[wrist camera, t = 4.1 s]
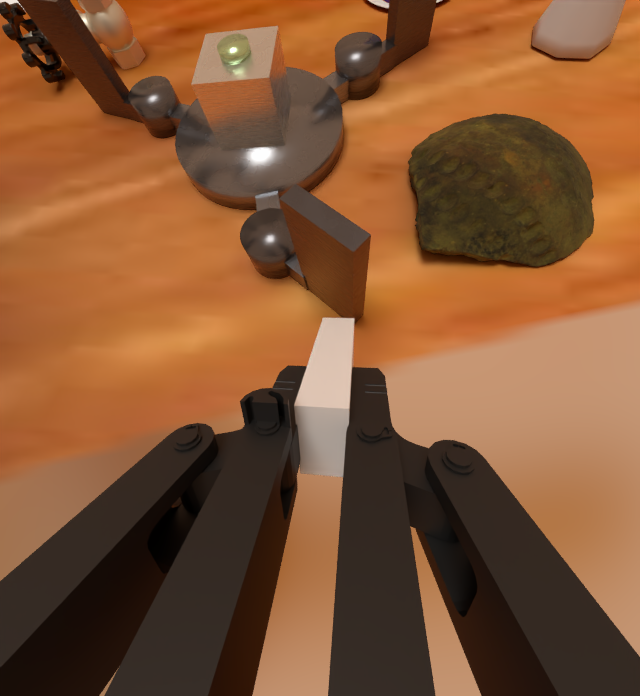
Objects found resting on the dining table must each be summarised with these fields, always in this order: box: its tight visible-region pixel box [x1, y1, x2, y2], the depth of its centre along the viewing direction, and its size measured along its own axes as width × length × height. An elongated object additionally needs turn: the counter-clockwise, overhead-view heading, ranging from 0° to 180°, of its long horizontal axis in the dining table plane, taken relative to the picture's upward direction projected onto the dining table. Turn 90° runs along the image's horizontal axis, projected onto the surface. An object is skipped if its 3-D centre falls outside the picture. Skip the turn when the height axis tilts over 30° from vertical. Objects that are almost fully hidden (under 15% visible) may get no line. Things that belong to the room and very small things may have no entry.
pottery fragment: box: [408, 114, 594, 267], centre depth 22 cm, size 14×14×4 cm
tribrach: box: [18, 0, 437, 212], centre depth 24 cm, size 36×25×9 cm
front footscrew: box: [240, 184, 371, 324], centre depth 19 cm, size 11×4×9 cm, turn 46°
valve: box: [0, 0, 146, 83], centre depth 32 cm, size 7×7×12 cm
